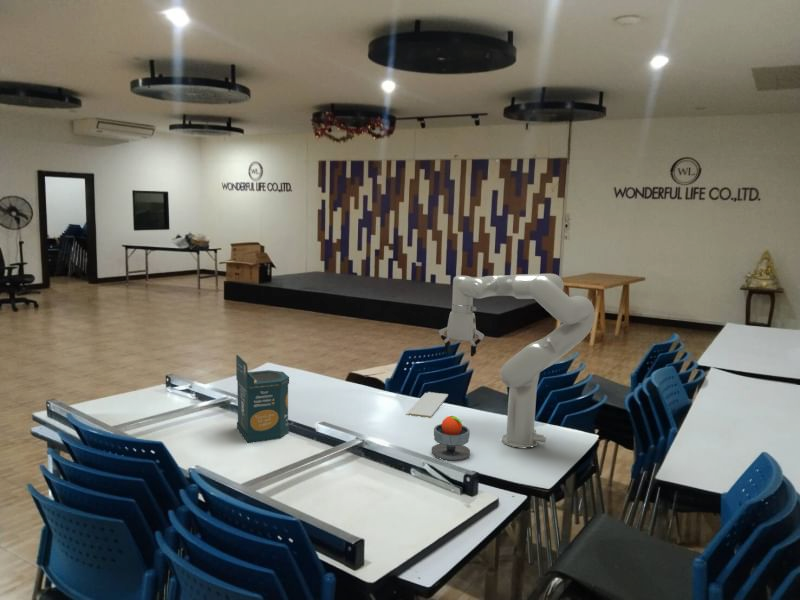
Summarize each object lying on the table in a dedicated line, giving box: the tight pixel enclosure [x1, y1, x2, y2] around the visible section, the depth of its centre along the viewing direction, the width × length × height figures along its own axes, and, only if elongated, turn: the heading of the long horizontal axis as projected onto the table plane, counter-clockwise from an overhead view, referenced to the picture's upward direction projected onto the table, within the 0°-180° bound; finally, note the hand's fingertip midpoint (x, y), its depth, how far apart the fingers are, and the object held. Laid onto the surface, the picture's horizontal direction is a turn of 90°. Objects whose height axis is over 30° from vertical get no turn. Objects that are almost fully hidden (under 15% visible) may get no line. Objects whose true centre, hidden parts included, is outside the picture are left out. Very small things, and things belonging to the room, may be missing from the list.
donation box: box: [235, 354, 290, 444], centre depth 220 cm, size 16×16×28 cm
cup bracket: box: [431, 423, 471, 462], centre depth 207 cm, size 13×13×8 cm
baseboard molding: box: [405, 389, 449, 419], centre depth 259 cm, size 31×3×12 cm
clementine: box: [441, 415, 464, 435], centre depth 206 cm, size 8×7×7 cm
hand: (460, 354), depth 229 cm, fingers open, 9 cm apart
